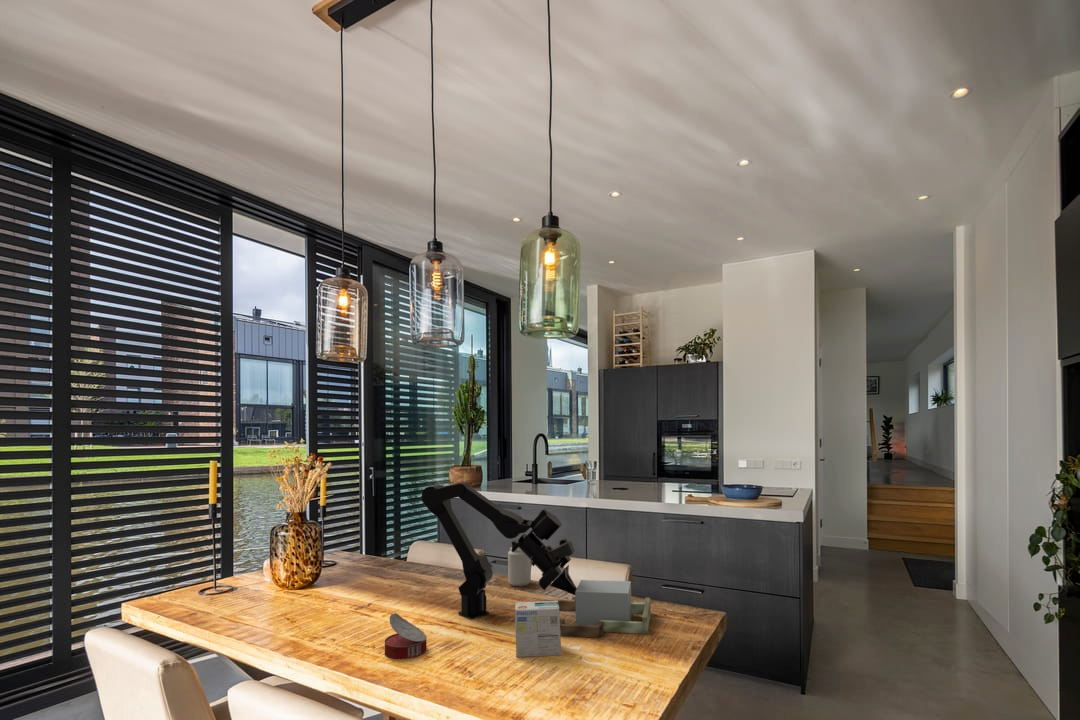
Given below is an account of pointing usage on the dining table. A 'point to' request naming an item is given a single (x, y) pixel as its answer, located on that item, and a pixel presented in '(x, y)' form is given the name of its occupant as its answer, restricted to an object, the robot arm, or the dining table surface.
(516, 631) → the light bulb box
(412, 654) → the canned food
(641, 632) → the lane
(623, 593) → the block
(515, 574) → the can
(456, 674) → the dining table surface
